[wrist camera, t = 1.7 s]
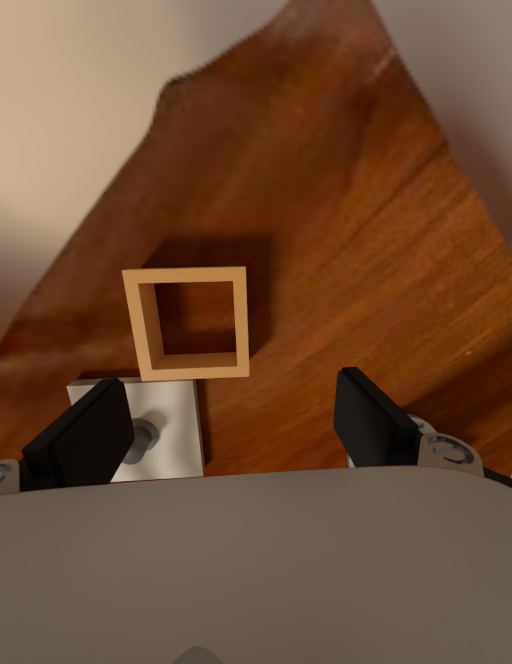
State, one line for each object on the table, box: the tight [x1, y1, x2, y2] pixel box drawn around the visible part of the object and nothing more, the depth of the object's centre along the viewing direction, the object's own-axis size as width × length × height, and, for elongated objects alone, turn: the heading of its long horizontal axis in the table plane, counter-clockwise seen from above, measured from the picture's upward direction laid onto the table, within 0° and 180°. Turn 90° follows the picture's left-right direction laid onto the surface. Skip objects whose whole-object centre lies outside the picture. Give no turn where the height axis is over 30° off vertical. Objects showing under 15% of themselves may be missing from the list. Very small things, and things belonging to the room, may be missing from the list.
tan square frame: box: [122, 266, 249, 381], centre depth 25 cm, size 11×11×4 cm
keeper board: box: [67, 377, 205, 482], centre depth 29 cm, size 14×14×4 cm
